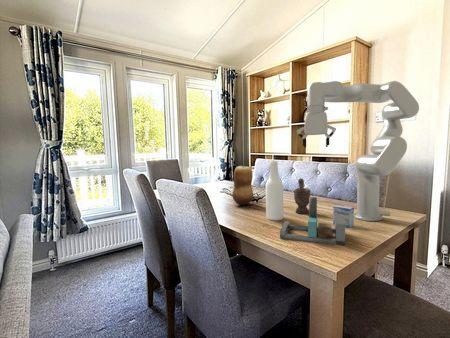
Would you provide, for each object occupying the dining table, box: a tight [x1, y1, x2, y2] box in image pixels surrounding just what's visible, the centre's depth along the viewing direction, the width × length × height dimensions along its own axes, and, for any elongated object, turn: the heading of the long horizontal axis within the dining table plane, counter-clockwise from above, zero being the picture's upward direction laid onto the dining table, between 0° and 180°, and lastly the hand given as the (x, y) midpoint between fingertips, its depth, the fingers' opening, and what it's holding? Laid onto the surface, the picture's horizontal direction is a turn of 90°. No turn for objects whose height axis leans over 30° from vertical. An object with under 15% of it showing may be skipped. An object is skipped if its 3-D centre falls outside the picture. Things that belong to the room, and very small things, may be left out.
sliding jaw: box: [307, 196, 318, 238], centre depth 102 cm, size 3×14×14 cm, turn 158°
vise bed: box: [279, 214, 346, 246], centre depth 103 cm, size 24×14×8 cm, turn 68°
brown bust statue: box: [293, 178, 311, 215], centre depth 135 cm, size 12×9×20 cm
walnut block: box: [317, 222, 333, 239], centre depth 101 cm, size 5×5×5 cm
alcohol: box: [265, 159, 285, 221], centre depth 127 cm, size 9×9×30 cm
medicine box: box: [332, 204, 355, 228], centre depth 115 cm, size 8×4×9 cm, turn 45°
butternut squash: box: [231, 165, 254, 206], centre depth 159 cm, size 14×13×25 cm
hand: (315, 147), depth 117 cm, fingers open, 9 cm apart
